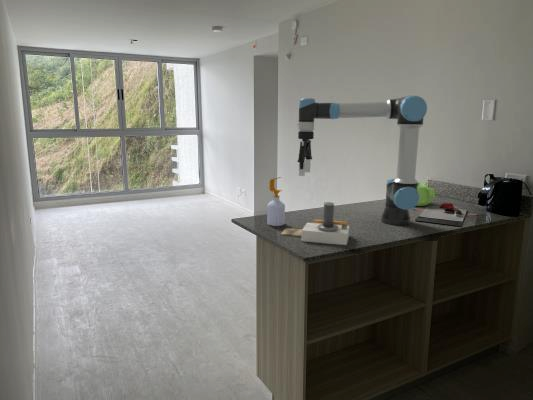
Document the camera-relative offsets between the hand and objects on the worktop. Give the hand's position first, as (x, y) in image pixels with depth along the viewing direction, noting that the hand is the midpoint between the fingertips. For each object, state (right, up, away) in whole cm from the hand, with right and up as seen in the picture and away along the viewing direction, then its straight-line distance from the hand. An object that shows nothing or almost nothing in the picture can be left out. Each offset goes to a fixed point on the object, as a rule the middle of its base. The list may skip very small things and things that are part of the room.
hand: (304, 174), depth 204 cm
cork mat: (-6, -29, -8) cm, 30 cm away
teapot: (+78, -16, +60) cm, 100 cm away
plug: (+9, -31, -19) cm, 37 cm away
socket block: (+8, -31, -17) cm, 36 cm away
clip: (+10, -24, -17) cm, 31 cm away
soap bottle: (-14, -26, +7) cm, 30 cm away
